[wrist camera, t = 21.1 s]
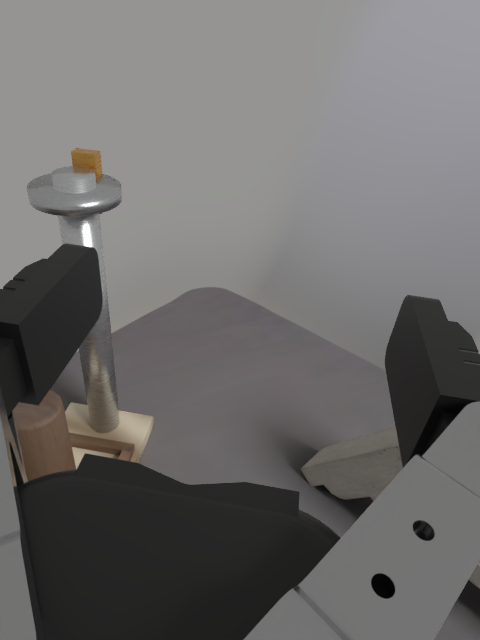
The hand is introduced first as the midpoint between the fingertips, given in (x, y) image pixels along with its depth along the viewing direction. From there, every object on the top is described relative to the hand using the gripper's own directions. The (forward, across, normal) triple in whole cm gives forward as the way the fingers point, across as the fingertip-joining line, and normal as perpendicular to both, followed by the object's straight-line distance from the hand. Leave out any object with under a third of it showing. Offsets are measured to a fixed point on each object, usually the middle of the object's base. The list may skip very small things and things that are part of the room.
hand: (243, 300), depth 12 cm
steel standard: (+23, +16, +36) cm, 46 cm away
